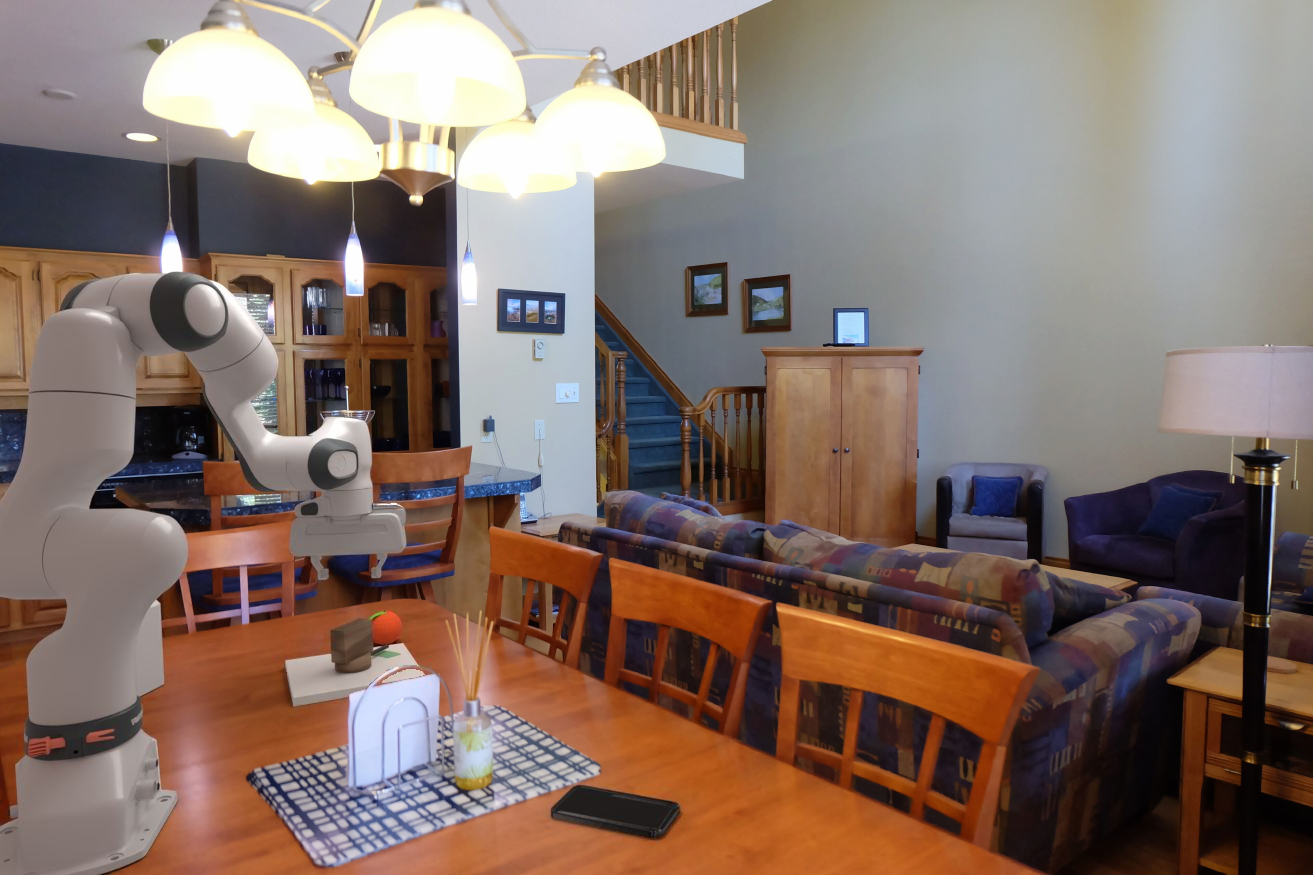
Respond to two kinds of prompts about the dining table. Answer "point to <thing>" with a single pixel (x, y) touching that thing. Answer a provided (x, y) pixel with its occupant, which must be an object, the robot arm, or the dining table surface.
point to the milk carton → (150, 652)
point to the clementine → (386, 627)
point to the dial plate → (343, 675)
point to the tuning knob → (353, 646)
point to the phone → (616, 811)
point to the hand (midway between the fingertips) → (349, 578)
